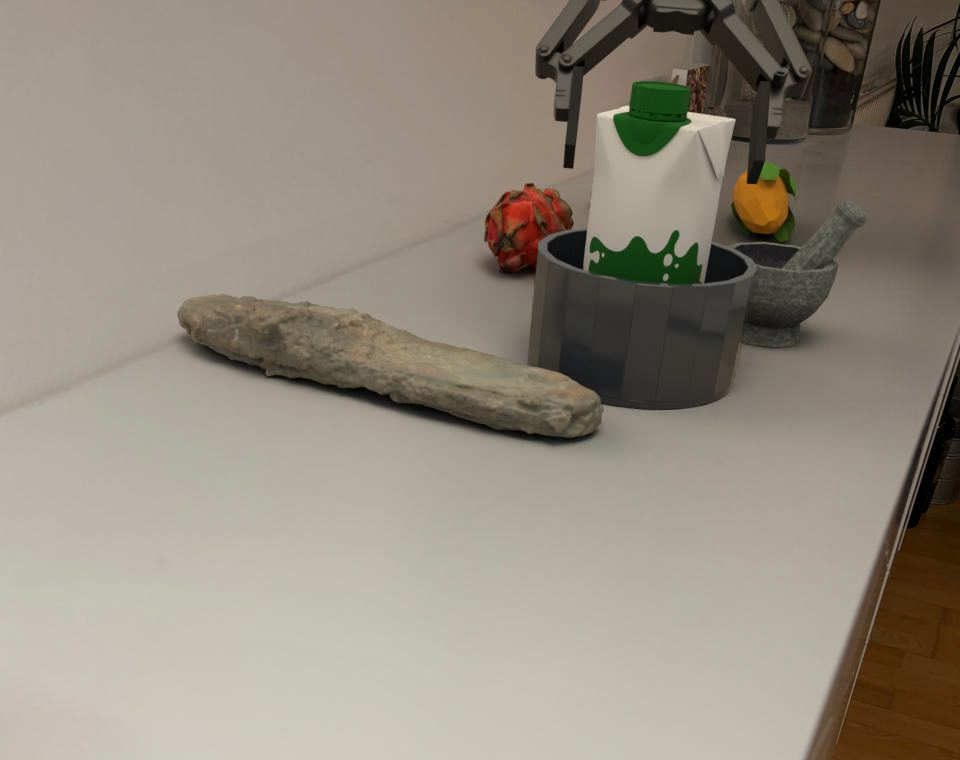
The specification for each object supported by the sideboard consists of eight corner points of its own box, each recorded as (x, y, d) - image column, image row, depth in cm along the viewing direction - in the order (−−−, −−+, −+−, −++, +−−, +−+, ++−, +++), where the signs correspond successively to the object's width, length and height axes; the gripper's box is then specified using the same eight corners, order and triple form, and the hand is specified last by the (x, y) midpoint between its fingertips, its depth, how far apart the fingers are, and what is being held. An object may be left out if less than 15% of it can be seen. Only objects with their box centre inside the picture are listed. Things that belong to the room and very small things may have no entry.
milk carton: (557, 364, 85) (588, 79, 74) (605, 336, 91) (641, 70, 80) (660, 391, 81) (710, 97, 70) (703, 360, 88) (754, 86, 77)
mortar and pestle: (704, 344, 93) (731, 197, 86) (709, 313, 101) (735, 176, 94) (838, 362, 91) (876, 214, 85) (832, 329, 99) (867, 191, 92)
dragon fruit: (557, 271, 115) (505, 315, 107) (500, 212, 114) (443, 252, 106) (605, 214, 109) (554, 256, 101) (545, 151, 108) (489, 188, 100)
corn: (794, 152, 132) (815, 184, 116) (785, 217, 136) (803, 258, 120) (733, 151, 133) (744, 183, 117) (725, 216, 137) (735, 256, 121)
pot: (748, 358, 91) (771, 248, 86) (710, 425, 78) (735, 300, 73) (563, 324, 95) (574, 217, 90) (498, 382, 82) (507, 261, 77)
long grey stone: (563, 481, 72) (614, 438, 79) (577, 405, 69) (629, 368, 77) (143, 343, 82) (225, 318, 90) (141, 273, 79) (226, 253, 87)
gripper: (834, -30, 86) (819, 209, 82) (523, -53, 87) (493, 181, 83) (864, -113, 79) (850, 146, 75) (524, -137, 80) (491, 116, 76)
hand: (661, 165), depth 79 cm, fingers open, 13 cm apart
